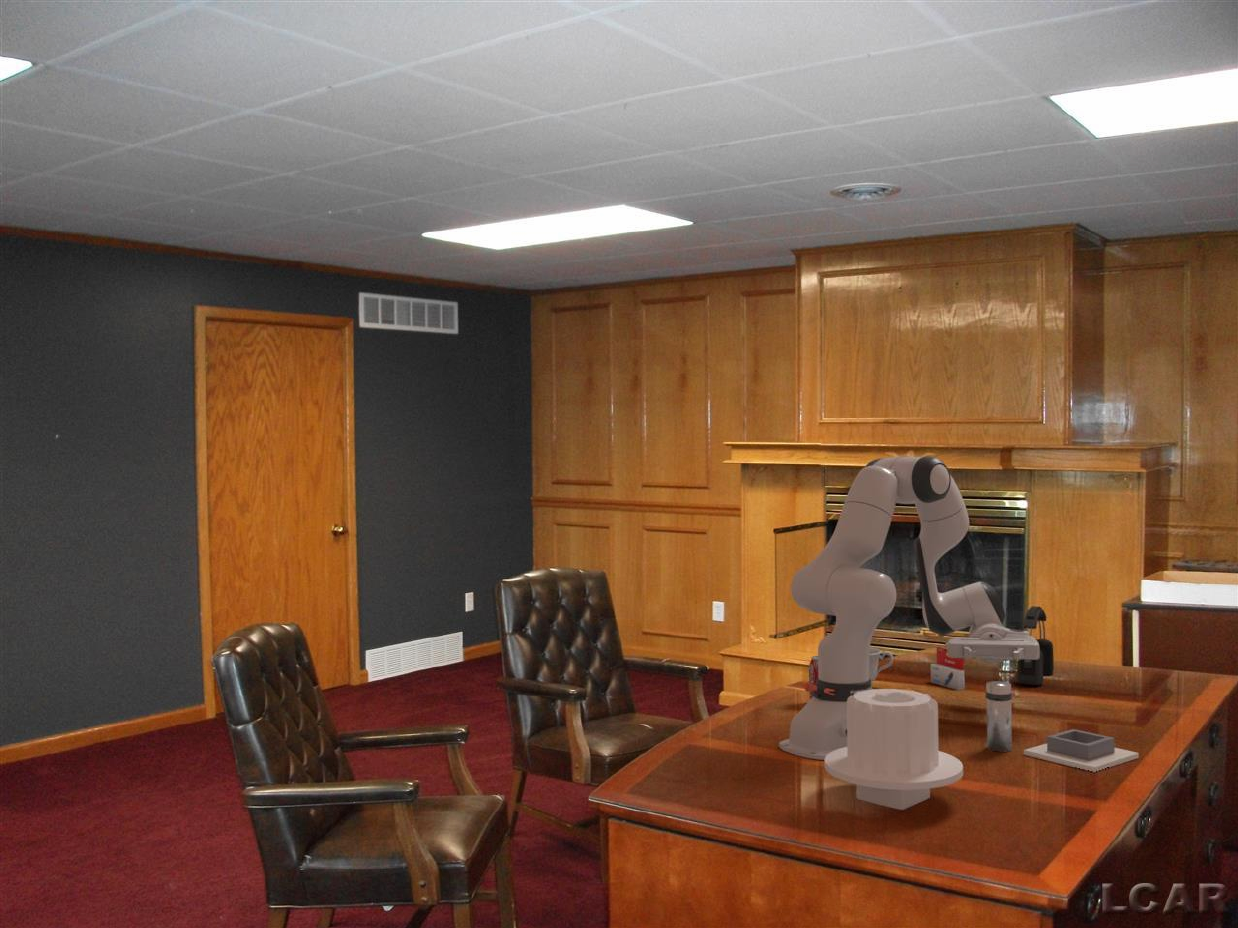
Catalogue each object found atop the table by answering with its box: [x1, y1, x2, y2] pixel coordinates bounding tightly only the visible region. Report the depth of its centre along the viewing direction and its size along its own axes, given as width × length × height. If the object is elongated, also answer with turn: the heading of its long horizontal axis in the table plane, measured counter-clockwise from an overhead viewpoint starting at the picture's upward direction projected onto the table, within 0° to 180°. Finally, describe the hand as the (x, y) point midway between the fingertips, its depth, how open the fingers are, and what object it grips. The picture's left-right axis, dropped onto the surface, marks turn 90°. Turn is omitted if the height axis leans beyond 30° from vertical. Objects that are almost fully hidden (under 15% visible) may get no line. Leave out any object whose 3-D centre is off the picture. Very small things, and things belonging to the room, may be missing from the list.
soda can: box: [808, 655, 818, 701], centre depth 279 cm, size 7×7×12 cm
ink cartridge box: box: [930, 646, 966, 691], centre depth 298 cm, size 2×11×10 cm, turn 25°
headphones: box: [1016, 606, 1055, 686], centre depth 304 cm, size 22×6×20 cm, turn 148°
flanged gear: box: [824, 688, 964, 811], centre depth 205 cm, size 25×25×19 cm
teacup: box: [869, 646, 894, 683], centre depth 298 cm, size 12×15×10 cm
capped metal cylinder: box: [984, 680, 1013, 753], centre depth 237 cm, size 5×5×14 cm
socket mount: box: [1023, 728, 1140, 773], centre depth 230 cm, size 16×16×4 cm
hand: (994, 655), depth 248 cm, fingers open, 8 cm apart
